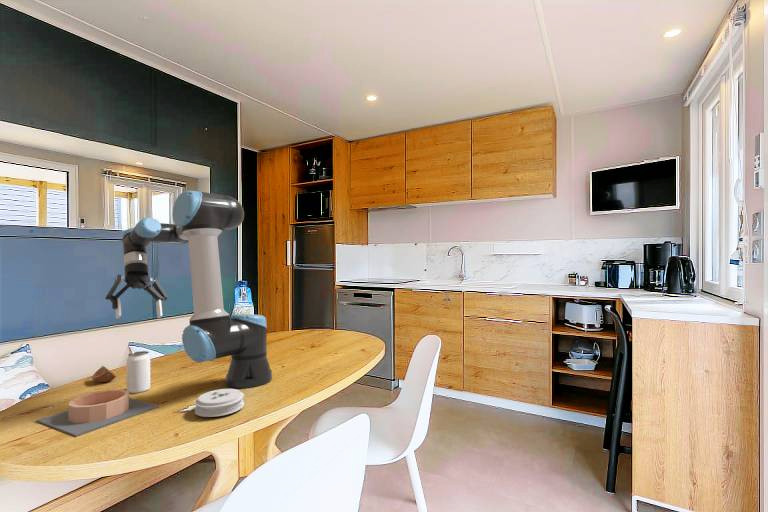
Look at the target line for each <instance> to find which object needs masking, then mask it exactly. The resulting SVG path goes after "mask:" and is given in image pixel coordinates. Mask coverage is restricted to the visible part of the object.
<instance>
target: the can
mask: <svg viewBox="0 0 768 512" xmlns="http://www.w3.org/2000/svg"><path fill="white" fill-rule="evenodd" d="M127 355H128V356H127V357H126V391H129V394H140V392H141V393H144V392H147V391H149V389H150V388H151V356H150V354H149V351H148V350H147V351H145V350H142V351H141V350H139V351H134V352H130V353H128V354H127Z"/></svg>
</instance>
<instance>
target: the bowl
mask: <svg viewBox="0 0 768 512" xmlns="http://www.w3.org/2000/svg"><path fill="white" fill-rule="evenodd" d="M129 398H130V393H129V391H127V389H126V390H125V389H106V390H100V391H95V392H91V393H87V394H84V395H81V396H78V397H76V398H74V399H72V400H70V401H69V403H68V405H67V406H68V407H67V408H68V410H67V411H68V421H71V422H74V423H88V422H94V421H100V420H105V419H108V418H111V417H114V416H117V415H120V414H122V413H123V412H125V411H127V410H128V409H129Z"/></svg>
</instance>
